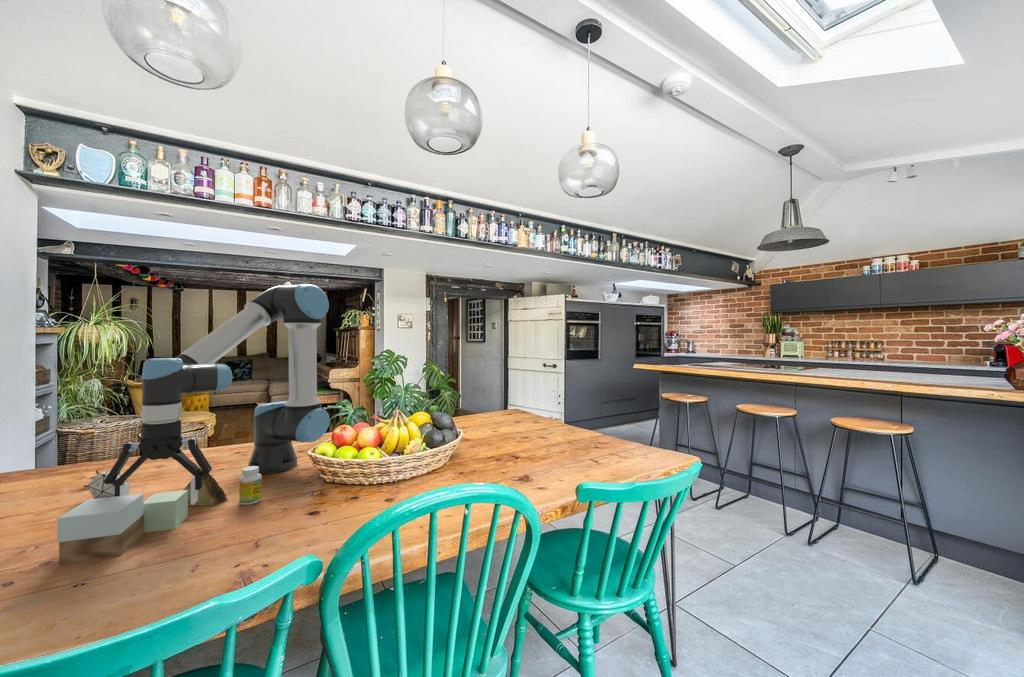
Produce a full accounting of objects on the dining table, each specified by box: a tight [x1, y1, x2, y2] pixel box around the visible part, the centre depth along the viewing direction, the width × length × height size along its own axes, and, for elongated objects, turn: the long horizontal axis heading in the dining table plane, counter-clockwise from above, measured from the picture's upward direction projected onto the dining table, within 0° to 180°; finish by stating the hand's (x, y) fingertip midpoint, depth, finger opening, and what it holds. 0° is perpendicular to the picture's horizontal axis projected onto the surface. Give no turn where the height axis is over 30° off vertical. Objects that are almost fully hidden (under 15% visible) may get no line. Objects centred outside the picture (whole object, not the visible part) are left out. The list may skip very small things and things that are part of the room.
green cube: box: [143, 489, 189, 534], centre depth 100 cm, size 7×7×7 cm
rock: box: [182, 472, 228, 506], centre depth 114 cm, size 11×9×10 cm
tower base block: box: [58, 514, 145, 566], centre depth 89 cm, size 10×10×5 cm
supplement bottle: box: [238, 466, 263, 506], centre depth 114 cm, size 5×5×10 cm
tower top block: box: [56, 493, 144, 543], centre depth 89 cm, size 10×10×5 cm
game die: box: [83, 470, 129, 499], centre depth 116 cm, size 9×8×10 cm
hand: (160, 506), depth 99 cm, fingers open, 13 cm apart
